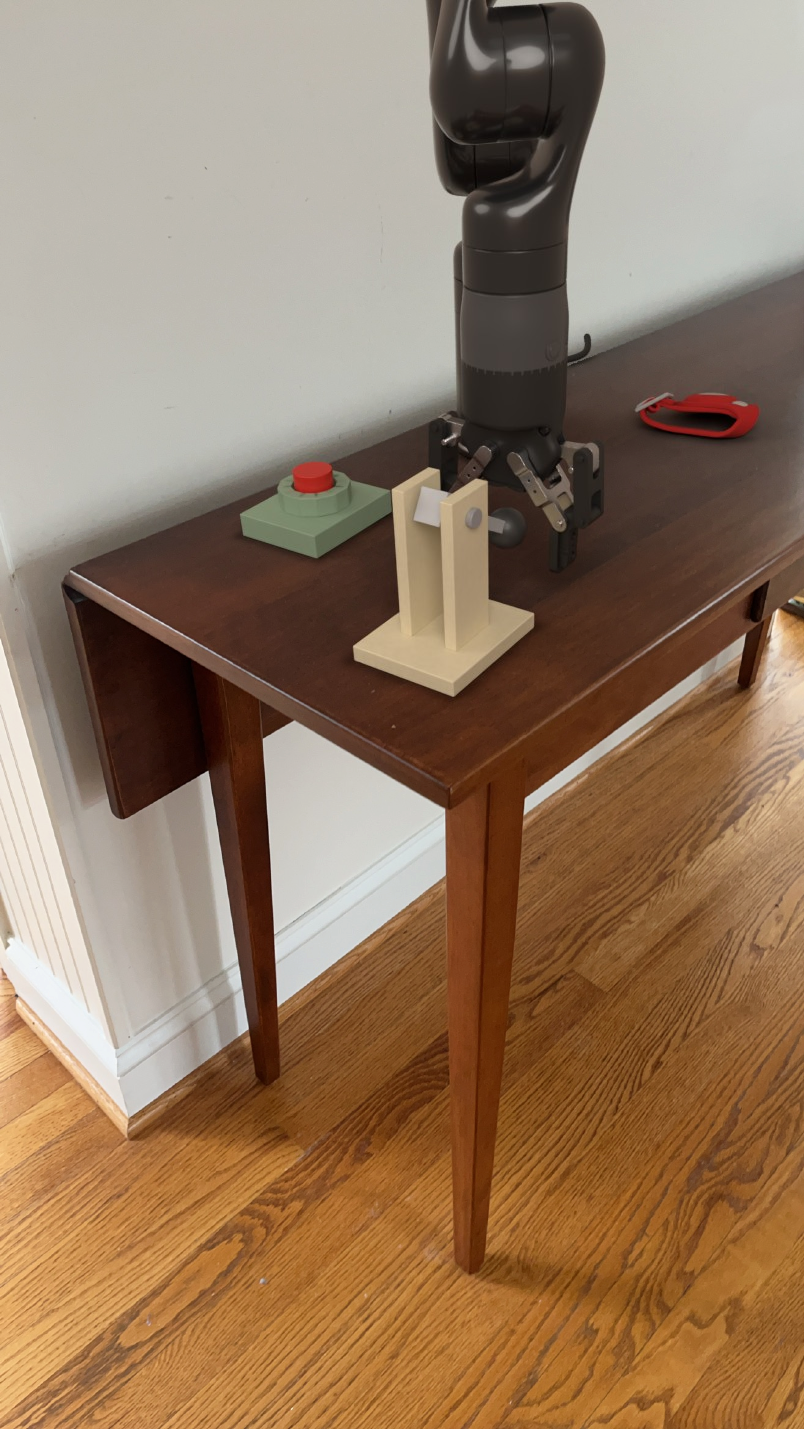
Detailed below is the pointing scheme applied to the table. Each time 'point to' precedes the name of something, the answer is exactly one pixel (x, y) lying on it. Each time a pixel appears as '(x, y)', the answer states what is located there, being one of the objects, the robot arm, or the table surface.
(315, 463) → the stop button
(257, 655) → the table surface
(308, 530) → the button block
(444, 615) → the lever bracket
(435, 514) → the press lever
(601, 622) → the table surface
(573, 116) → the robot arm
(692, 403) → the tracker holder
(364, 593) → the table surface
